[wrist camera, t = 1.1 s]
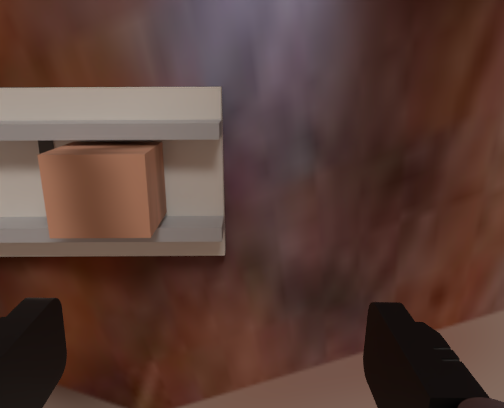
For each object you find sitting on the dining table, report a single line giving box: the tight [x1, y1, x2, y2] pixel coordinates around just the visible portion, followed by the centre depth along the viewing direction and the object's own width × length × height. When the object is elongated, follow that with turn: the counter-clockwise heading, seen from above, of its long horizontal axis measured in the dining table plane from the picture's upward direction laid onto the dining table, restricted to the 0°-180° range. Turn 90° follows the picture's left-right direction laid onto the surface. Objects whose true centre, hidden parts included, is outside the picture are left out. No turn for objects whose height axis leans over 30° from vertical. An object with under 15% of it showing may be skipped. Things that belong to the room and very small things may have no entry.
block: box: [37, 141, 167, 238], centre depth 27 cm, size 6×5×5 cm
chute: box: [0, 87, 226, 257], centre depth 28 cm, size 26×12×5 cm, turn 90°
